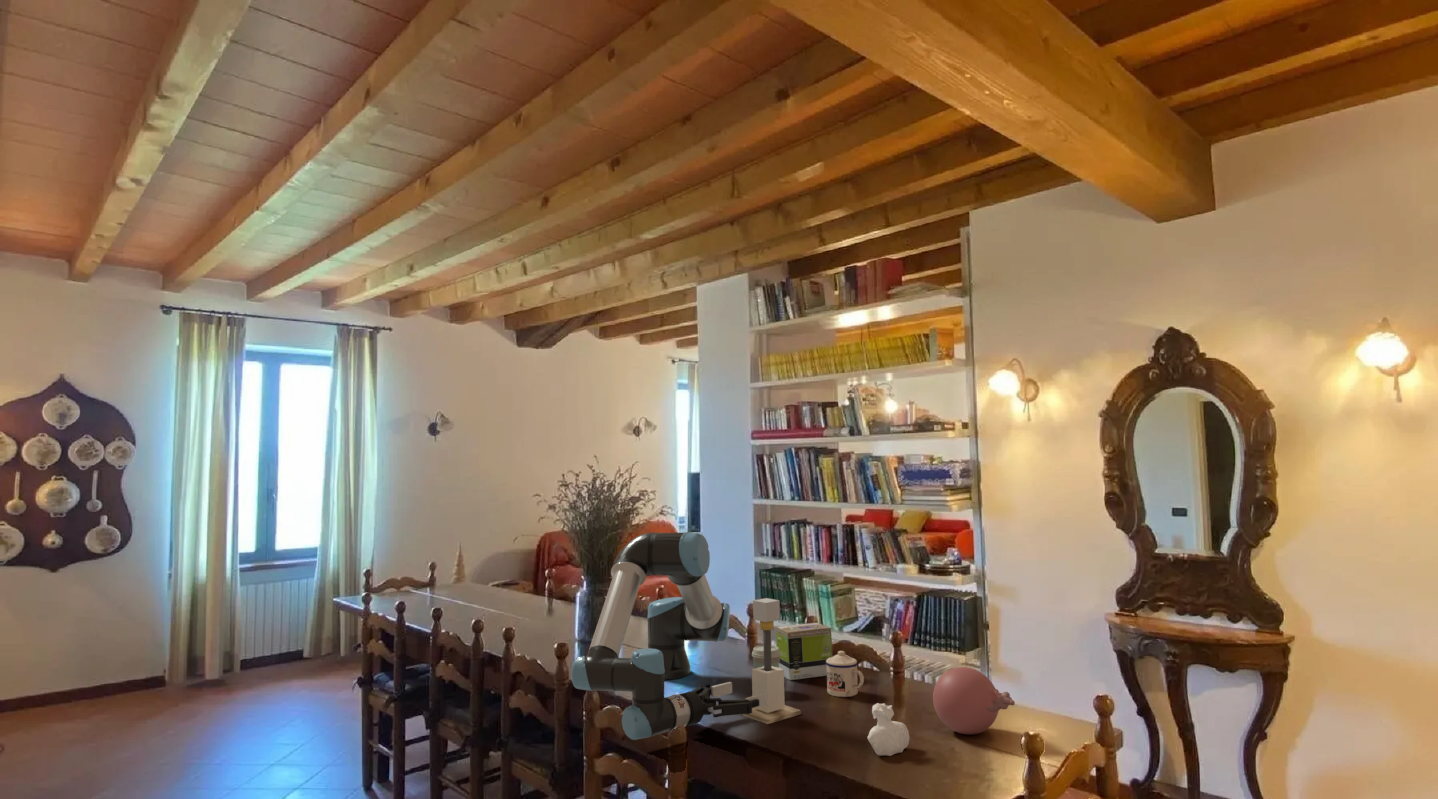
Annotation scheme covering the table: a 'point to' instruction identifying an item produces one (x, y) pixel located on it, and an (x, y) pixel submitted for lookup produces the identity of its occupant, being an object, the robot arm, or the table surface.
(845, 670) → the teacup with lid
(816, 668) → the tea box
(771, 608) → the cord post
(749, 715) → the tan slab base
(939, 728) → the table surface
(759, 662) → the coffee cup
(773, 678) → the marker sleeve
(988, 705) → the balloon
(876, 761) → the table surface
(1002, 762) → the table surface
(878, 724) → the bust
